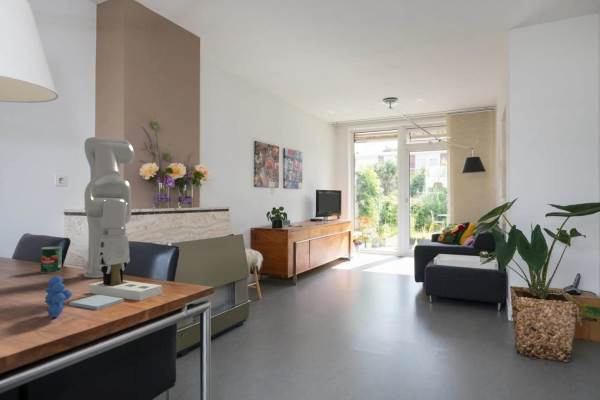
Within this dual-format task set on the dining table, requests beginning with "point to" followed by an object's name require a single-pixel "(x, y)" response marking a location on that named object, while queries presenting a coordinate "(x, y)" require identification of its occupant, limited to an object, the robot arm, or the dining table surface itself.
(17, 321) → the dining table surface
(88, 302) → the rubber mat
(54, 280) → the grapes
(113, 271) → the olive rounded piece
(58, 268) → the canned tomato
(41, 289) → the dining table surface
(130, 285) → the white board with cutout
